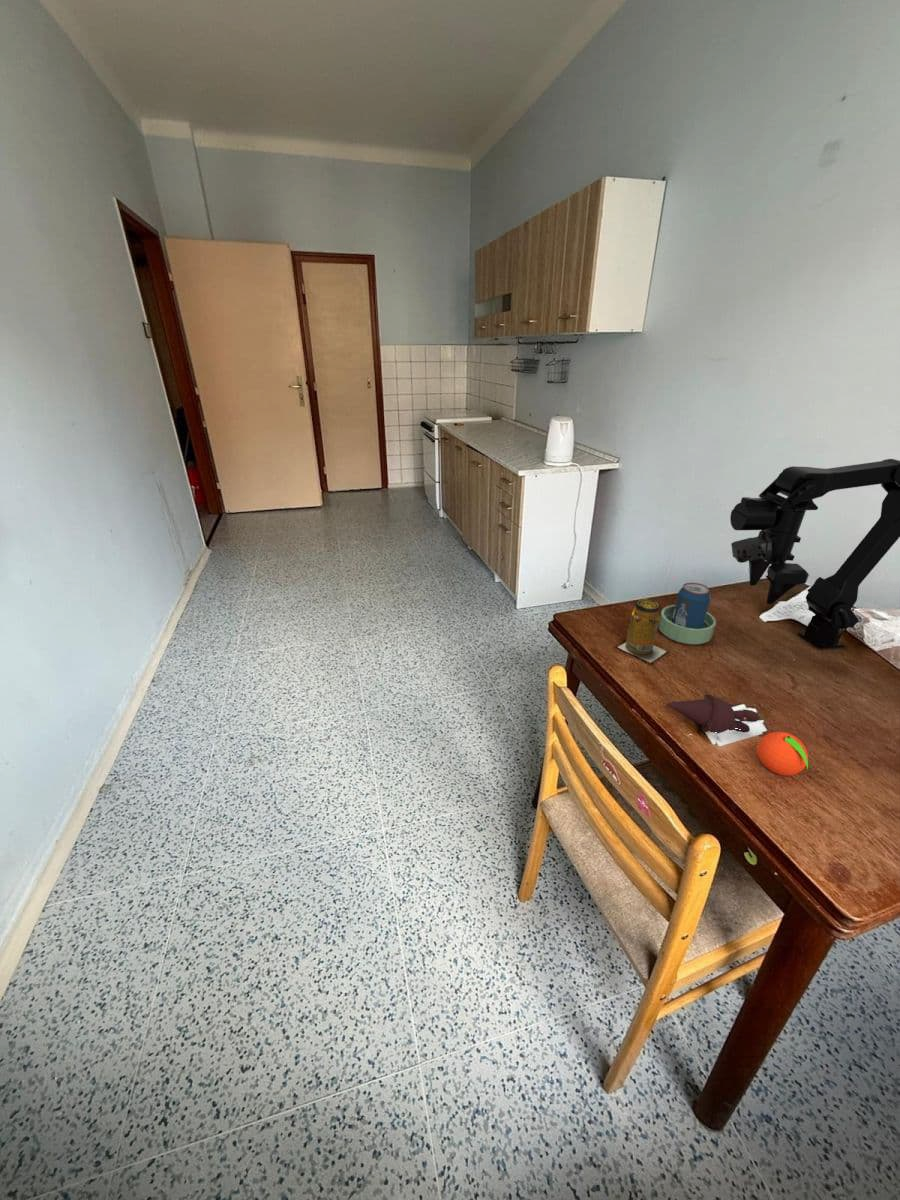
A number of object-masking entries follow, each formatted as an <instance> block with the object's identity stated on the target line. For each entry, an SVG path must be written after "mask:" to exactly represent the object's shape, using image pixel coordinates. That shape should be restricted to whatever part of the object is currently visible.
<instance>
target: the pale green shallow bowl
mask: <svg viewBox="0 0 900 1200" xmlns="http://www.w3.org/2000/svg"><path fill="white" fill-rule="evenodd" d="M675 606H676V604H670V605H668V606H665V607H663V608H662V609H661V612H660V615H659V617H660V619H659V624H658V630H659V631H660V633H661V634H663V635H664V636H665V637H666V638H668V639H670V640H671V641H674V642H677V643H680V644H685V645H703V644H706V643H708V642H709V641H711V640H712V638H713V635H714V632H715V630H716V629H715V628H716V626H717V625H716V624H717V619H716V617H715V616H713V615H712V614H711V613H710V612H708V611H707V613H706V616H705V620H704V624H703V627H702V628H701V629H694V628H687V627H683V626H680V625H677V624H674V623H673V622H672V618H673V614H674V610H675Z"/></svg>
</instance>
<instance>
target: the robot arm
mask: <svg viewBox="0 0 900 1200" xmlns="http://www.w3.org/2000/svg"><path fill="white" fill-rule="evenodd" d="M875 485H880V486H881V487H882V489H883V490H885V492H886V495H885V497H884V499H883V500H882V502H881V508H880V517H879V518H878V520H877V521H876V522H875V523H874V525H873V526H872V527H871V528H870V530H869V531H868V532H867V533H866V534H865V536H864V537H863V538H862V539H861V541H860V542H859V543H858V545H857V546H856V547H855V548H854V549H853V550H852V552H851V553H850V554H849V555H848V557H847V558H846V559H845V561H844V562H843V563H842V564H841V566H840V567H839V568H838V569H837V571H836V572H835V573H833V574H832V575H830V576H828V577H826V578H823V577H822V576H819V577H818V578H816V579H815V581H814V583H813V584H812V586H811V587H809V588H808V589H806V592H807V593H806V596H805V600H806V604H807V610H808V611H810V612H812V614H814V615H812V616H811V619H810V621H809V622H808V624H807V626H806V628H805V631H800V632H799V633H798V635H799V636H800V637H802V638H803V639H804V640H805V641H807V642H809V643H810V644H812V645H813V646H815V647H816V648H817V649H831V648H843V647H844V646H845V644H844V643H843V642H841V641H840V639H841V637H842V634H843V632H844V630H847V629H850V628H851V629H852V628H854V627H855V626H856V625H857V624H858V622H859V621H860V619H859V618H858V616H857V615H856V614H855V613H854V611H853V610H852V609H853V608H854V606H855V604H856V602H857V601H858V594H859V587H860V585H861V584H862V582H863V581H864V580H865V579H866V578H867V577H868V575H869V574H870V573H871V572H872V571H873V570H874V568H875V567H876V566H877V565H878V564H879V562H880V561H881V560H882V559H883V558H884V556H885V555H886V554H887V553H888V552H889V551H890V550H891V548H892V547H893V546H894V545H895V544H896V543H897V541H898V540H899V539H900V460H899V459H895V458H886V459H883V460H880V461H873V462H866V463H865V462H864V463H858V464H850V465H844V466H843V465H842V466H836V467H829V468H824V467H823V468H820V467H812V466H789V467H786V468H784V469H782V471H781V472H780V473H779V474H778V476H777V477H776V478H775V479H774V480H773V481H772V482H771V483H770V484H769V485H768V486H766V488H765V489H763V490H762V491H761V493H759V494H758V497H749V496H743V497H741V499H740V502H739V503H737V504H736V505H735V506H734V507H733V509H732V510H731V511H730V518H729V521H730V525H731V528H732V529H733V530H734V531H758V532H759V533H758V535H757V536H754V537H748V538H743V539H740V540H735V541H732V542H731V544H730V546H731V553H732V557H733V558H734V559H735V560H736V562H738V563H740V564H742V563H747V562H748V569H749V571H748V573H749V585H750V586H756V585H757V584H758V583H759V581H760V580H761V578H763V575H764V574H765V573H767V575H765V578H766V580H767V581H768V582H769V586H768V592H767V596H766V603H767V605H774V603H775V602H777V601H778V600H779V599H780V598H782V597H783V596H784V595H785V594H786V593H787V592H789V591H790V590H791V589H793V588H794V587H796V586H800V585H801V584H802V585H805V584H806V583H807V581H808V578H809V576H810V573H808V571H807V570H806V569H805V568H804V567H802V566H801V565H800V564H799V563H791V562H787V561H794V560H795V555H794V554H793V553H792V551H793V549H794V546H795V543H801V540H802V537H800V536H799V535H798V534H799V532H800V529H801V526H802V523H803V520H804V517H805V515H806V512H807V511H817V510H819V506H818V505H817V504H816V503H815V502H814V501H813V500H815V499H819V498H822V497H824V496H825V495H826V494H828V493H829V492H833V491H834V492H835V491H839V490H845V489H846V490H847V489H853V488H861V487H867V486H868V487H870V486H875ZM780 494H781V495H780ZM784 496H786V497H784ZM766 571H767V572H766Z"/></svg>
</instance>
